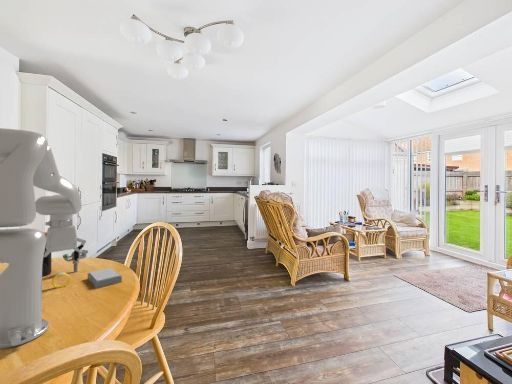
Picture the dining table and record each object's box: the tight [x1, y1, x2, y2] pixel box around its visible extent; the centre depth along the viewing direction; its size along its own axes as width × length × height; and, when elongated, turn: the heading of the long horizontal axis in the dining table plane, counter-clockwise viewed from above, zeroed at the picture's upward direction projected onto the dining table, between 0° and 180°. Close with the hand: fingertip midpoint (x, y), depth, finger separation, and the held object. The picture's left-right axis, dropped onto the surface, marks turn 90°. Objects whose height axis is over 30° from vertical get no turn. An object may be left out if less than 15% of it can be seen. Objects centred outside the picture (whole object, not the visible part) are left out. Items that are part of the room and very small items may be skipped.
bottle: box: [42, 231, 52, 277], centre depth 114 cm, size 7×7×20 cm
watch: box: [51, 271, 71, 289], centre depth 102 cm, size 6×3×6 cm, turn 135°
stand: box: [87, 267, 123, 289], centre depth 110 cm, size 14×10×3 cm
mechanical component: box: [62, 249, 89, 273], centre depth 119 cm, size 3×10×10 cm, turn 152°
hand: (61, 262), depth 103 cm, fingers open, 9 cm apart
